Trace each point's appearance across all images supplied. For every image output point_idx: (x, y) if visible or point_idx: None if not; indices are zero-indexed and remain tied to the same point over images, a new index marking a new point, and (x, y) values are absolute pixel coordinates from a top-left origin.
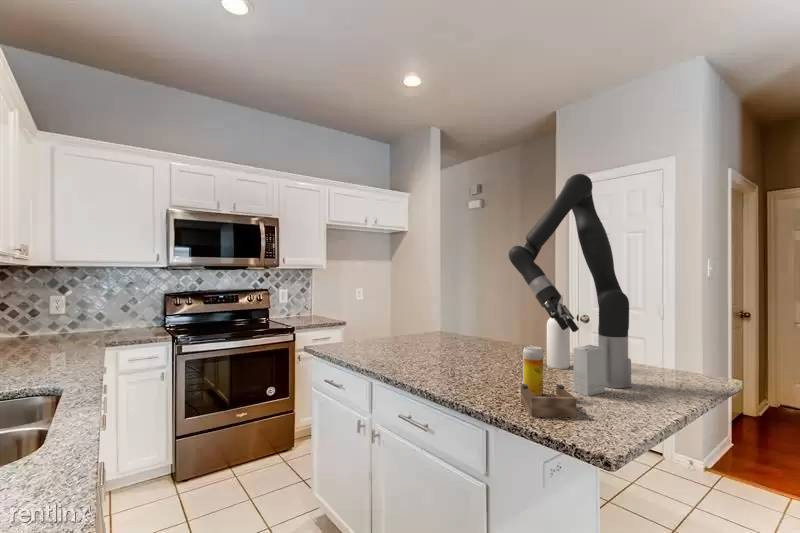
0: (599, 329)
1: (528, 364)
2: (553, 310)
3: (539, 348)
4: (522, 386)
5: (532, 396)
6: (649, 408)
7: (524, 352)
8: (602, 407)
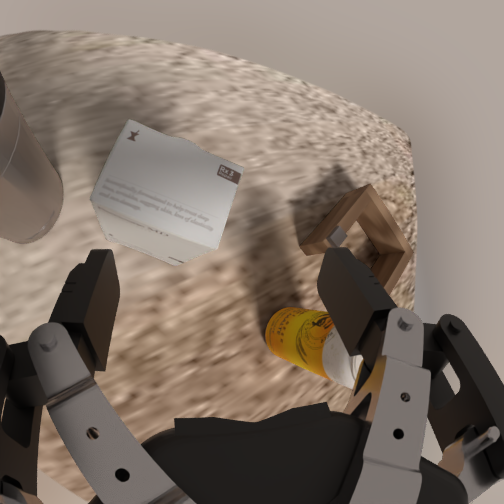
0: None
1: None
2: (476, 361)
3: None
4: None
5: (407, 256)
6: (193, 88)
7: None
8: (259, 164)
